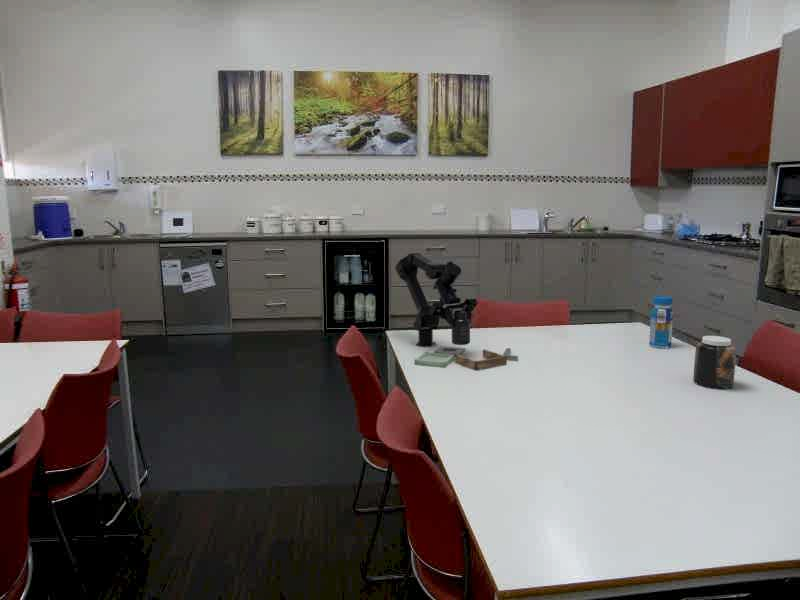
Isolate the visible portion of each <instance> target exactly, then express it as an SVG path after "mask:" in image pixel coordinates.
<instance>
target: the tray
mask: <svg viewBox="0 0 800 600" xmlns="http://www.w3.org/2000/svg"><path fill="white" fill-rule="evenodd" d="M454 361H455V355H452V354H441V353H433V352H430V351H427V352H426V351H424V352H423V353H421V354H420V355H419V356H418V357H417V358H415V359H414V365H416V366H424V367H425V366H426V367H436V368H447V367H448V366H449V365H450V364H451V363H452V362H454Z"/></svg>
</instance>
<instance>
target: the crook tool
mask: <svg viewBox="0 0 800 600" xmlns="http://www.w3.org/2000/svg"><path fill="white" fill-rule="evenodd" d="M511 353H512V349H511V348H510V347H509V348H506V349H505V350H504V352H503V353H502V355H504V356H507V361H511V362H518V360H519V355H510V354H511Z"/></svg>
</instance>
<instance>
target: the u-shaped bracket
mask: <svg viewBox="0 0 800 600" xmlns="http://www.w3.org/2000/svg"><path fill="white" fill-rule="evenodd" d="M482 358H483V359H482V360H481V359H480V360H474V359H471V358H469V357H466V356H463V355H458V354H457V355H455V358H454V363H455V364H458V365H460V366H463V367H466V368H469V369H471V370H473V369H474V371H476V370H477V371H480V369H482V370H485V369H491V368H496V367H499V366H501V367H502V366H505V365H507V363H508V362H507V361H508V360H507V356H504V355H503V354H501V353H497V352H494V351H491V350H488V349H482Z"/></svg>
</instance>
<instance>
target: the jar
mask: <svg viewBox="0 0 800 600" xmlns="http://www.w3.org/2000/svg"><path fill="white" fill-rule="evenodd" d="M701 338H702V339H701V341H699V342H697V343H696V345H695V353H694V363H693V364H694V366H693V376H692V377H693V378H692V381H694V382H695V383H697V384H699V385H698V386H700V385H702V386H701V387H703V386H704V387H703V388H707V387H710V388H709V389H713V388H729V387H732V386H733V387H734V384H735V372H736V360H737V348H736V346H735V345H733V344H732V339H731V338H729V337H725V336H719V335H703V336H702V337H701ZM694 382H693V383H694ZM695 383H694V384H695ZM697 384H696V385H697ZM733 387H732V388H733Z"/></svg>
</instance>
